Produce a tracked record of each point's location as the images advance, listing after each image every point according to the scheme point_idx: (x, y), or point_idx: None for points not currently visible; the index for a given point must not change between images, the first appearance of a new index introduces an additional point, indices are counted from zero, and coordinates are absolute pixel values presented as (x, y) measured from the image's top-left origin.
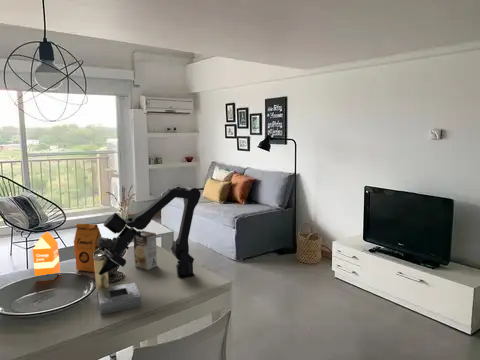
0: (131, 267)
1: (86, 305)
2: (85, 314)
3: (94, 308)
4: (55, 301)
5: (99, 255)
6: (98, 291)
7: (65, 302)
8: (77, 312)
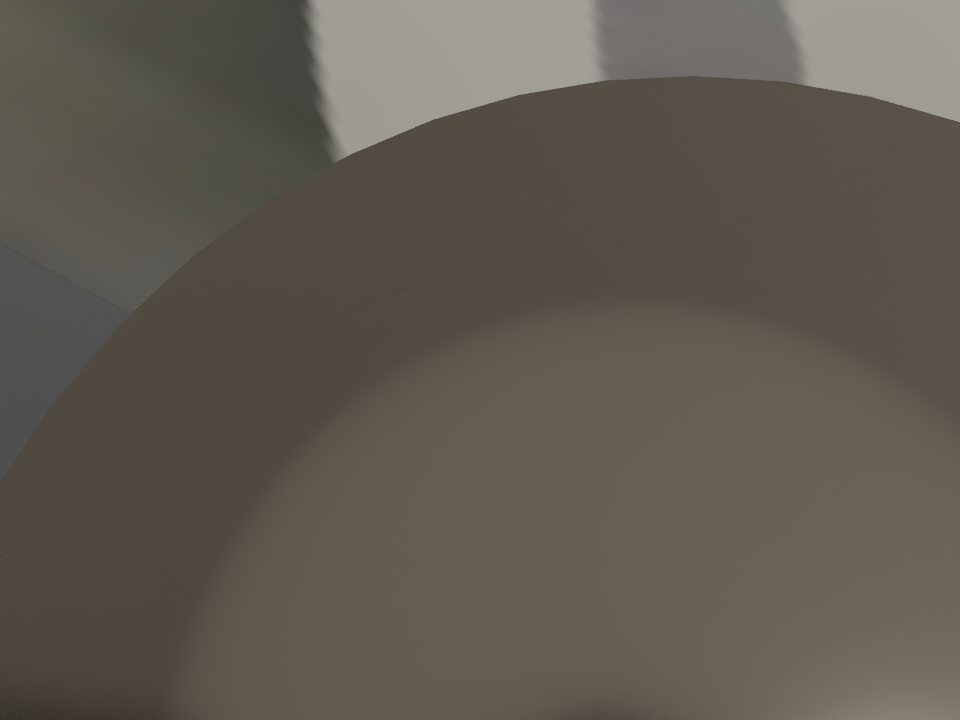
0: None
1: (248, 192)
2: (2, 43)
3: (41, 207)
4: (779, 11)
5: (639, 653)
6: (113, 317)
7: (625, 71)
8: (162, 14)
